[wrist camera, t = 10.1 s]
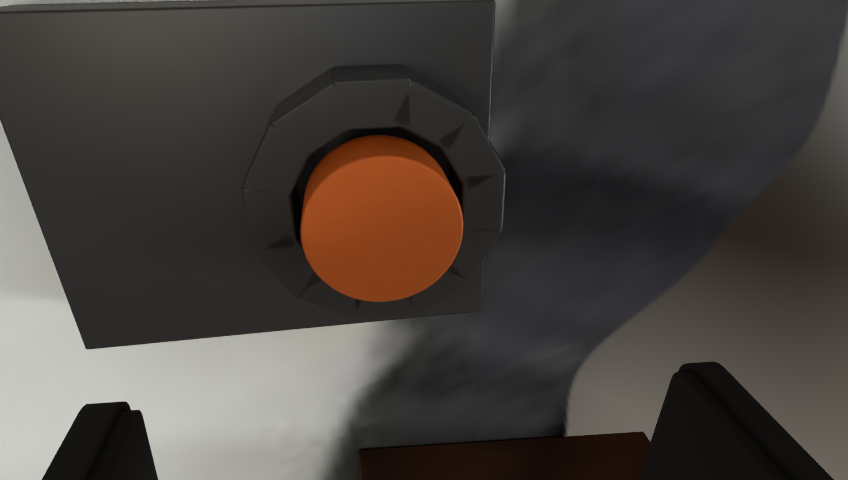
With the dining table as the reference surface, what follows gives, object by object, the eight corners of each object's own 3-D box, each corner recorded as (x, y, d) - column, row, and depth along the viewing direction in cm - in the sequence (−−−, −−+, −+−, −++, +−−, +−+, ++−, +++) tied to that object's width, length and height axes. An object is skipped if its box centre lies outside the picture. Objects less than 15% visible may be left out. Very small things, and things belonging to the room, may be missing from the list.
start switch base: (474, -6, 17) (519, 4, 13) (466, 275, 21) (497, 347, 17) (13, 4, 15) (-102, 20, 11) (112, 306, 20) (57, 394, 16)
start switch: (451, 130, 14) (465, 150, 13) (449, 263, 16) (462, 295, 14) (295, 138, 14) (290, 161, 12) (312, 275, 16) (309, 309, 14)
